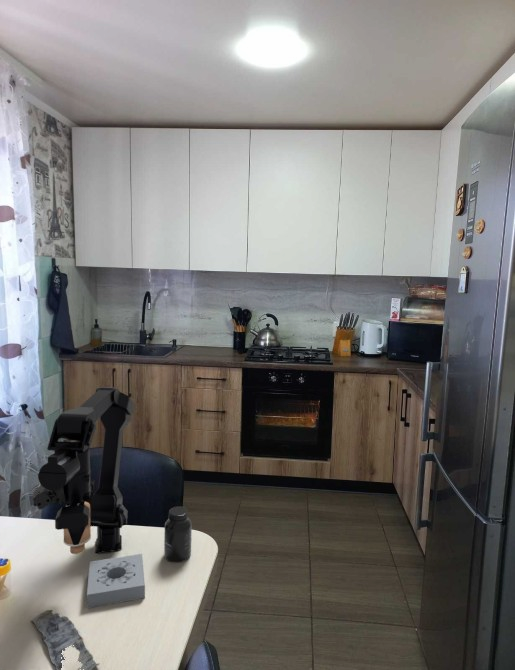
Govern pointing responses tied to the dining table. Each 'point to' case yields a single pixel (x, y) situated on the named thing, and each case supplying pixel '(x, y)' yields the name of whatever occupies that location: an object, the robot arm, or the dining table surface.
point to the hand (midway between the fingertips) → (77, 537)
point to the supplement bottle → (177, 535)
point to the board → (115, 580)
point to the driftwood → (62, 638)
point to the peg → (84, 539)
